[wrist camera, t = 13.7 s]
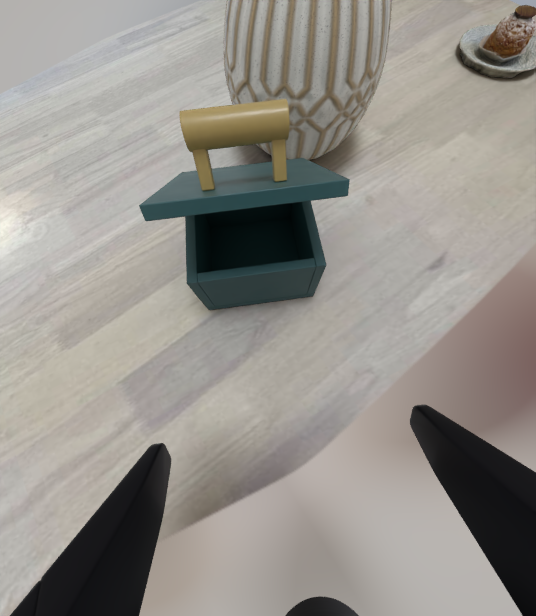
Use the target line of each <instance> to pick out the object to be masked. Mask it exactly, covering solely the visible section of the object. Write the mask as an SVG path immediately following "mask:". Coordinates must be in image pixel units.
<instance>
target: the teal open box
mask: <svg viewBox="0 0 536 616" xmlns="http://www.w3.org/2000/svg"><path fill="white" fill-rule="evenodd" d="M185 219H186V265H187V284H188V286H189V287H190V288H191V289H192V290H193V292H194V293H195V294H196V295H197V296H198V298H199V299H200V300H201V301H202V302H203V304H204V305H205V306H206V307H207V308H208V309H209V310H214V309H221V308H229V307H236V306H244V305H251V304H259V303H266V302H273V301H281V300H288V299H296V298H303V297H311V296H313V295H314V293H315V291H316V288H317V286H318V284H319V281H320V279H321V276H322V274H323V272H324V269H325V267H326V262H325V258H324V254H323V250H322V246H321V242H320V237H319V233H318V229H317V225H316V221H315V217H314V213H313V209H312V205H311V201H304V202H296V203H288V204H280V205H272V206H264V207H256V208H248V209H240V210H232V211H224V212H216V213H208V214H200V215H192V216H185Z"/></svg>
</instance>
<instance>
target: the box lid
mask: <svg viewBox="0 0 536 616" xmlns="http://www.w3.org/2000/svg"><path fill="white" fill-rule="evenodd" d="M180 123H181V128H182V132H183V136H184V139H185V142H186V145H187V147H188V149H189V151H190V152H193V156H194V160H195V164H196V168H197V171H190V172H182V173H180V174H179V175H178V176H177V177H175V178H174V179H173V180H171V181H170V182H169V183H168V184H166V185H165V186H164V187H162V188H161V189H160V190H159V191H157V192H156V193H155V194H153V195H152V196H151V197H150V198H148V199H147V200H146V201H144V202H143V203H142V204H141V205H139V206H140V209H141V211H142V214H143V216H144V219H145V221H153V220H161V219H169V218H177V217H185V216H192V215H200V214H208V213H216V212H224V211H232V210H240V209H248V208H256V207H264V206H272V205H280V204H288V203H296V202H304V201H312V200H320V199H328V198H336V197H344V196H348V189H349V179H347V178H345V177H343V176H341V175H339V174H337V173H334V172H332V171H330V170H328V169H326V168H324V167H322V166H319V165H317V164H315V163H313V162H311V161H309V160H306V159H304V158H297V159H289V160H286V140H288V138H289V129H290V119H289V107H288V102H287V99H279V100H270V101H262V102H253V103H244V104H236V105H227V106H219V107H210V108H201V109H193V110H184V111H180ZM269 142H271V155H272V162H264V163H256V164H248V165H239V166H231V167H223V168H215V169H212V168H211V164H210V159H209V154H208V150H211V149H219V148H228V147H236V146H244V145H253V144H261V143H269Z"/></svg>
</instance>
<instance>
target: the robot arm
mask: <svg viewBox="0 0 536 616" xmlns="http://www.w3.org/2000/svg"><path fill="white" fill-rule="evenodd" d="M410 425H411V428H412V430H413V432H414V433H415V436H416V438H417V440H418V442H419V444H420V446H421V448H422V449H423V452H424V453H425V456H426V458H427V459H428V461H429V463H430V465H431V467H432V469H433V471H434V473H435V475H436V476H437V478H438V480H439V481H440V483H441V485H442V486H443V488H444V489H445V491H446V493H447V494H448V496H449V497H450V499H451V500H452V502H453V504H454V506H455V507H456V509H457V510H458V512H459V514H460V515H461V517H462V518H463V520H464V521H465V523H466V525H467V526H468V528H469V530H470V531H471V533H472V535H473V536H474V538H475V539H476V541H477V543H478V544H479V546H480V547H481V549H482V551H483V552H484V554H485V555H486V557H487V559H488V560H489V562H490V564H491V565H492V567H493V568H494V570H495V572H496V573H497V575H498V576H499V578H500V579H501V581H502V583H503V584H504V586H505V588H506V589H507V591H508V592H509V594H510V596H511V597H512V599H513V600H514V602H515V604H516V605H517V607H518V608H519V610H520V612H521V613H522V615H523V616H536V472H534V471H532V470H531V469H529V468H528V467H526V466H524V465H523V464H521V463H520V462H518V461H516V460H515V459H513V458H512V457H510V456H508V455H507V454H505V453H504V452H502V451H500V450H499V449H497V448H495V447H494V446H492V445H491V444H489V443H487V442H486V441H484V440H483V439H481V438H479V437H478V436H476V435H474V434H473V433H471V432H470V431H468V430H466V429H464V428H463V427H461V426H460V425H458V424H457V423H455V422H453V421H452V420H450V419H449V418H447V417H445V416H444V415H442V414H441V413H439V412H437V411H436V410H434V409H433V408H431V407H429V406H427V405H417V406H414V407H413V409H412V414H411V418H410ZM170 468H171V456H170V454H169V452H168V450H167V448H166V446H165V444H163V443H159V444H153V445H151V446H150V447H149V448H148V449H147V451H146V452H145V453H144V454H143V455H142V457H141V458H140V459H139V460H138V461H137V463H136V464H135V465H134V466H133V468H132V469H131V470H130V471H129V472H128V474H127V475H126V476H125V477H124V478H123V480H122V481H121V482H120V483H119V484H118V486H117V487H116V488H115V489H114V491H113V492H112V493H111V494H110V495H109V497H108V498H107V499H106V500H105V501H104V503H103V504H102V505H101V506H100V508H99V509H98V510H97V511H96V512H95V514H94V515H93V516H92V517H91V518H90V520H89V521H88V522H87V523H86V524H85V526H84V527H83V528H82V529H81V531H80V532H79V533H78V534H77V535H76V537H75V538H74V539H73V540H72V541H71V543H70V544H69V545H68V546H67V548H66V549H65V550H64V551H63V552H62V554H61V555H60V556H59V557H58V558H57V560H56V561H55V562H54V563H53V564H52V566H51V567H50V568H49V569H48V571H47V572H46V573H45V574H44V575H43V577H42V579H41V581H39V582H38V583H37V584H36V585H35V586H34V587H33V589H32V590H31V591H30V592H29V593H28V595H27V596H26V597H25V598H24V599H23V601H22V602H21V603H20V604H19V605H18V607H17V608H16V609H15V610H14V611H13V613H12V614H11V615H10V616H139V613H140V609H141V605H142V601H143V597H144V593H145V588H146V584H147V580H148V576H149V572H150V568H151V564H152V559H153V556H154V551H155V547H156V543H157V539H158V535H159V531H160V527H161V523H162V518H163V513H164V507H165V501H166V494H167V488H168V481H169V475H170Z"/></svg>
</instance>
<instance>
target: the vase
mask: <svg viewBox="0 0 536 616" xmlns="http://www.w3.org/2000/svg"><path fill="white" fill-rule="evenodd" d="M391 11H392V0H227V4H226V14H225V27H224V69H225V76H226V81H227V86H228V90H229V94H230V98H231V101H232V104H233V105H236V104H244V103H253V102H262V101H270V100H279V99H287V102H288V107H289V119H290V129H289V138H288V140H286V160H289V159H297V158H304V159H306V160H312V159H315V158H318V157H320V156H323V155H325V154H326V153H328V152H330V151H331V150H333V149H334V148H336V147H337V146H338V145H340V144H341V143H342V142H343V141H344V140H345V139H346V138H347V137H348V136H349V135H350V133H351V132H352V131H353V130H354V128H355V127H356V126H357V124H358V123H359V122H360V120H361V119H362V117H363V116H364V114H365V112H366V110H367V108H368V106H369V104H370V102H371V100H372V98H373V96H374V94H375V91H376V89H377V86H378V84H379V81H380V78H381V75H382V71H383V67H384V63H385V58H386V53H387V47H388V40H389V32H390V22H391ZM256 145H257V146H259V147H260V148H261V149H262V150H264V151H265V152H266V153H268V154H270V155H271V142H269V143H261V144H256Z"/></svg>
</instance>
